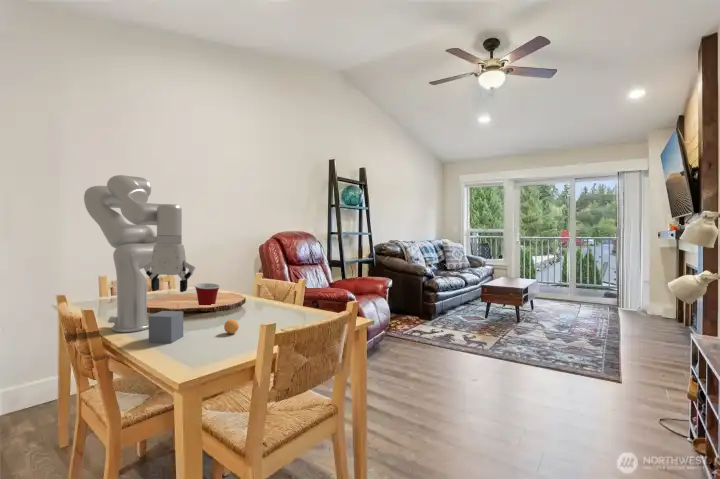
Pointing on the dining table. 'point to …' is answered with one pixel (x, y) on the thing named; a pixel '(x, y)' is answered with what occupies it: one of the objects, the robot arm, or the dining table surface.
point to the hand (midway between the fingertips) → (169, 290)
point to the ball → (231, 326)
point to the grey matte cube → (165, 326)
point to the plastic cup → (207, 293)
